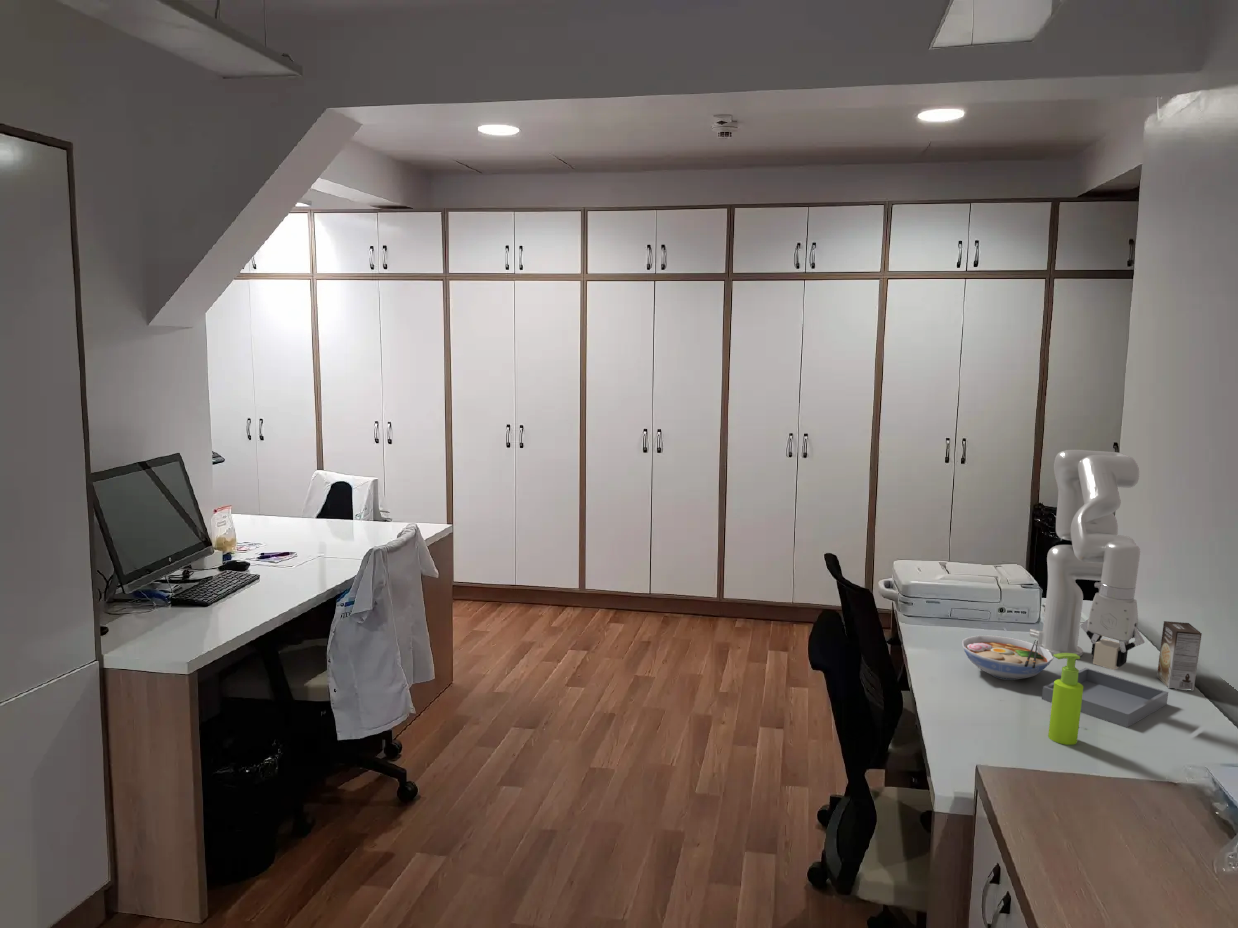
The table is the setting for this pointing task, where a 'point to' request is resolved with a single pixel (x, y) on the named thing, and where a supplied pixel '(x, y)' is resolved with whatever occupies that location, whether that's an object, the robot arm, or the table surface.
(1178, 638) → the coffee box
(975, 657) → the ramen bowl
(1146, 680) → the table surface
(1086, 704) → the parts tray
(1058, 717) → the soap dispenser
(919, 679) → the table surface
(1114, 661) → the tan wooden cube
